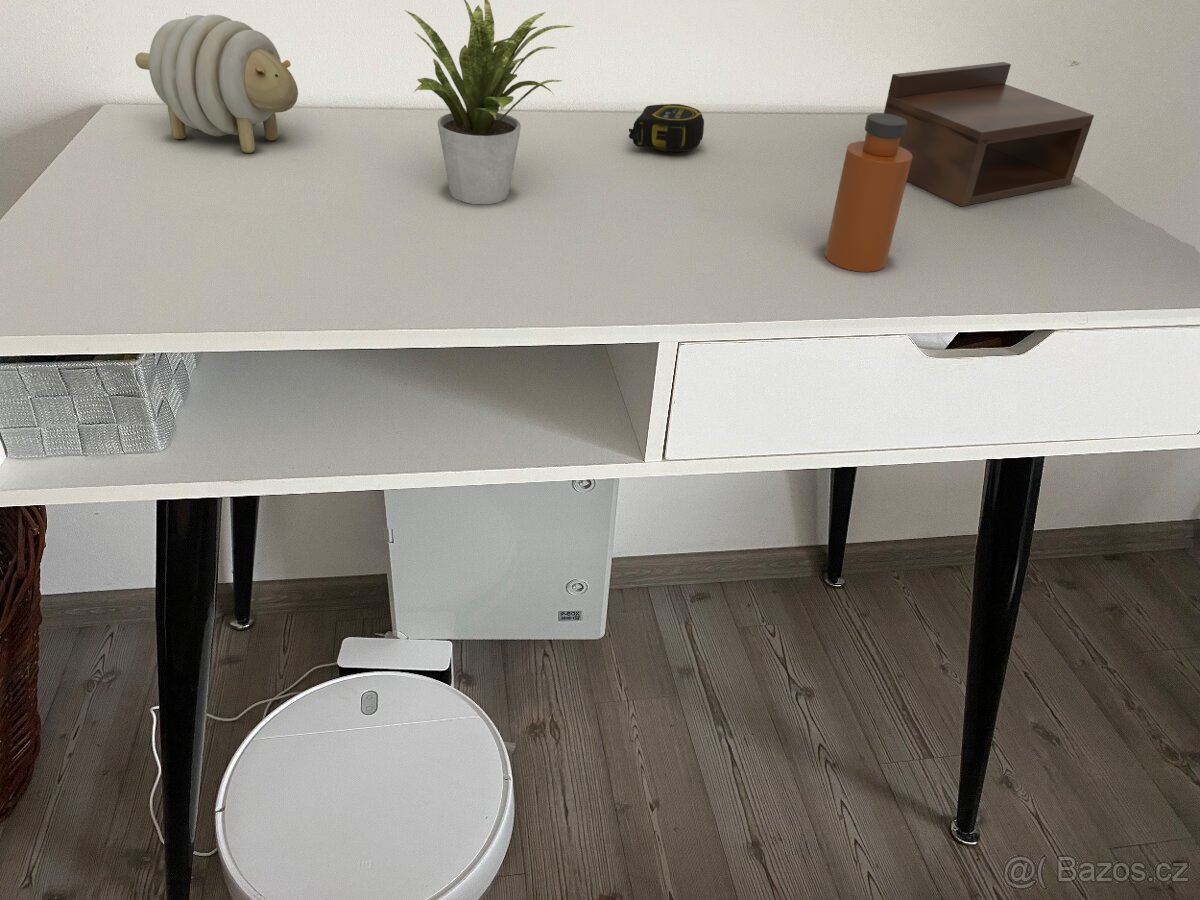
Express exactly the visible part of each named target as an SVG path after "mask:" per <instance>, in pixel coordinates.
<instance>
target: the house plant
mask: <svg viewBox="0 0 1200 900" xmlns="http://www.w3.org/2000/svg"><path fill="white" fill-rule="evenodd" d="M463 2H464V4H465V7H466V11H467V13H468V16H469V17H468V18H469V22H470V27H469V34H468V35H469V36H468V42H467V44H464V45H463V46H462V47H461V49H460V51H459V57H458V62H459V64H458V65H459V67H460V71H461V74H460V73H459V70H458V69H457V65H456V64H455V61H454V59H453V57H452V55H451V53H450V51H449V50H448V48H447V46H446V44H445V42H444V41H443V40H442V38H441V37H440V35H439V34H438V32H436V30H435V29H433V27H431V25H429V24H428V23H427V22H425V21H424V20H423V19H422V17H419V16H418V15H417V14H416V13H412V12H410V11H407V10H405V12H406V13H407V14H408V15H410V16H411V17H412V18H413V19H414V20H415V21H416V22H417V23H418V24H419V26H420V28H422V30H423V31H424V33H425V34H426V36H427V37H428V38H429V40H430V42H431V44H432V45H433V46H432V45H431V44H430V43H429V41H428V40H427V39H425V38H424V37H423V36H421V35H420V34H418V33H417V32H415V34H416V36H417V37H418V38H419V39H420V40H422V41H423V42H424V43H425V44H426V45H427V46H428V47H429V48H430V50H431V51H432V52H433V54H434V55H435V56H436V57H437V58H438V60H439V61H440V62H441V63H442V64H443V66H444V68H445V69H446V71H447V72H448V74H449V76H450V78H451V81H452V83H453V84H454V86H455V88H456V90H457V92H458V94H459V95H460V97H461V99H462V101H463V103H464V106H465V108H464V106H463V104H462V101H461V99H460V97H459V95H458V94H457V92H456V90H455V89H454V87H453V86H452V85H451V82H450V80H449V78H448V77H447V76H446V74H445V71H443V68H442V67H441V64H440V63H439V61H438V60H436V59H435V58H432V61H433V66H434V73H435V76H436V78H437V80H438V81H439V82H438V81H437V80H436V79H433V78H429V77H422V78H421V77H420V78H417V79H416V81H418V82H419V83H420V84H419V85H418V86H417V87H416V88H415V90H414V92H412V93H415V92H417V91H432V92H433V93H434V94H436V95H437V96H438V97H439V98H440V99H442V100H443V102H444V103H445V105H446V106H447V108H448V109H449V111H450V113H447V114H444V115H442V116H440V117H439V119H438V120H437V128H438V134H439V141H440V144H441V145H440V146H441V151H442V157H443V162H444V167H445V173H446V178H447V184H448V190H449V194H450V196H451V197H452V198H453V199H455V200H457V201H459V202H463V203H465V204H473V205H491V204H493V205H494V204H497V203H500V202H503V201H504V200H506V199H508V197H509V195H510V189H511V185H512V184H511V183H512V178H513V174H514V173H513V172H514V167H515V162H516V157H517V150H518V145H519V141H520V140H519V139H520V134H521V128H522V125H521V122H520V120H518V119H517V118H515V117H513V116H511V115H509V113H510V112H511V111H512V110H513V109H514V108H515V107H516V106H517V105H518V104H519V103H521V101H523V99H525V98H526V97H527V96H528V95H530V94H531V93H532V92H533V91H534V90H537V89H538V88H539V87H542V88H544V89H546V90H548V91H549V92H551V93H552V94H553V96H555V95H554V93H553V91H552V90H551V89H550V88H548V87H547V86H546V84H547V83H555V82H556V83H557V82H562V80H559V79H548V80H547V79H546V80H544V81H541V82H539V81H535V80H524V81H523V80H522V81H518V82H516V83H514V84H512V85H511V86H509V85H510V84H511V82H513V81H514V80H515V79H516V78H518V74H517V73H516V72H517V71H518V69H519V67H521V65H522V64H523V63H524V62H525V61H526V60H527V59H528V58H529V57H531V56H532V55H533V54H534V53H537V52H539V51H541V50H550V49H553V50H554V49H556V47H554V46H548V45H547V46H545V45H544V46H539V47H537V48H534V49H532V50H531V51H530V52H528V53H527V54H526V55H525V56H524V57H521V58H517V56H518V55H519V54H520V53H521V51H522V50H523V49H524V48H525V47H526V46H527V45H528V44H529V43H530V42H531V41H533V40H534V39H535V38H537V37H538V36H540V35H542V34H543V33H544V34H545V33H546V32H548V31H550V30H554V29H563V28H564V29H565V28H574V27H576V26H575V25H564V24H563V25H561V24H558V25H550V26H545V27H543V28H541V29H538V30H536V31H535V32H533V33H531V31H533V30H535V29H537V28H538V26H533V24H534V23H535V21H537V20H538V19H540V18H541V17H543V16H544V14H545V13H546V12H542V13H538V14H535V15H533V16H531V17H529V18H527V19H526V20H524V21H523V22H522V23H521V24H520V25H519V26H518V27H517V29H515V31H514V32H513V33H512V35H511V36H510V37H507V38H504V39H499V40H496V41H495V19H494V15H493V10H492V7H491V3H490V1H489V0H484V4H483V5H484V6H483V7H484V8H483V9H484V12H483V9H482V8H481V6H480V4H478V5H477V6H476V7H475V8H474V10H473V12H472V9H471V7H470V4H469V2H468V1H467V0H463ZM529 33H531V35H530V36H528V35H529ZM527 36H528V37H527ZM526 37H527V38H526ZM525 38H526V39H525ZM516 58H517V59H516ZM516 65H517V66H516ZM512 71H513V72H512ZM508 86H509V88H507V87H508ZM526 86H533V87H532V88H531V89H529V90H528V91H527V92H526V93H524V94H523V95H522V96H521V97H520V98H519V99H518V100H517V101H515V103H514V104H513V105H512V106H511V107H510V108H509V109H508V110H507V111H506V112H505V113H502V112H503V111H504V110H503V109H504V108H505V107H506V106H508V105H510V103H513V101H514V96H512V95H511V94H512V93H514V92H515V91H516V90H518V89H521V88H522V87H526ZM499 108H500V109H499ZM500 110H501V112H499V111H500Z"/></svg>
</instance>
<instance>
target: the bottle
mask: <svg viewBox="0 0 1200 900" xmlns="http://www.w3.org/2000/svg"><path fill="white" fill-rule="evenodd" d="M906 125H907V121H906V120H905V119H904V118H902V117H899V116H896V115H892V114H885V113H884V112H875V113H870V114H868V115H867V116H866V121H865V124H864V131H865V137H864V140H860V141H859V140H858V141H853V142H851V143H849V144H848V145H847V147H846V152H845V156H844V160H843V165H842V170H841V175H840V179H839V184H838V189H837V194H836V198H835V199H836V200H835V204H834V209H833V213H832V218H831V222H830V228H829V233H828V237H827V242H826V247H825V251H824V257H825V259H826V260H827V261H828V262H829V263H831V264H832V265H834V266H836V267H838V268H841V269H843V270H849V271H853V272H862V273H871V272H877V271H880V270H882V269H884V268H885V267H886V266H887V261H888V259H889V254H890V250H891V246H892V241H893V237H894V234H895V230H896V226H897V221H898V217H899V214H900V210H901V207H902V206H901V205H902V202H903V198H904V193H905V190H906V185H907V182H908V181H907V177H908V173H909V169H910V165H911V161H912V154H911V153H910V152H909V151H908V150H906V149H904V148H902V147H899V143H900V139H901V137H902V136H904V134H905V129H906Z"/></svg>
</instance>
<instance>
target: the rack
mask: <svg viewBox="0 0 1200 900" xmlns="http://www.w3.org/2000/svg"><path fill="white" fill-rule="evenodd" d="M1011 66H1012V63H1008V62H1006V61H999V62H991V63H982V64H980V63H979V64H971V65H965V66H962V65H961V66H953V67H946V68H937V69H929V70H928V69H927V70H926V69H925V70H918V71H909V72H908V71H907V72H900V73H892V75H891V79H890V83H889V88H888V93H887V97H886V98H887V99H886V102H885V106H884V110H883V113H885V114H892V115H896V116H899V117H902V118H904V119H905V120H906V121H907V125H906V129H905V134H904V136H902V137H901V139H900V143H899V147H902V148H904V149H906V150H908V151H909V152H910V153H911V154H912V161H911V165H910V169H909V173H908V177H907V181H906V182H908V183H910V184H912V185H915V186H917V187H918V188H920V189H923V190H925V191H927V192H929V193H931V194H933V195H935V196H938V197H939V198H941V199H944V200H946V201H948V202H950V203H953V204H955V205H957V206H959V207H965V206H969V205H974V204H975V205H976V204H981V203H984V202H985V203H986V202H989V201H995V200H999V199H1005V198H1009V197H1014V196H1015V197H1016V196H1021V195H1024V194H1025V195H1026V194H1030V193H1035V192H1040V191H1045V190H1050V189H1054V188H1060V187H1064V186H1069V185H1071V184H1072V181H1073V178H1074V175H1075V172H1076V170H1077V167H1078V164H1079V162H1080V158H1081V155H1082V152H1083V149H1084V146H1085V144H1086V141H1087V138H1088V135H1089V132H1090V129H1091V126H1092V123H1093V120H1094V116H1095V115H1094V114H1092V113H1089V112H1087V111H1083V110H1080V109H1077V108H1075V107H1072V106H1069V105H1066V104H1063V103H1061V102H1058V101H1055V100H1052V99H1049V98H1047V97H1043V96H1040V95H1037V94H1034V93H1032V92H1030V91H1026V90H1023V89H1021V88H1017V87H1014V86H1012V85H1009V84H1006V83H1007V80H1008V76H1009V73H1010V69H1011Z"/></svg>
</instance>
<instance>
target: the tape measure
mask: <svg viewBox="0 0 1200 900" xmlns="http://www.w3.org/2000/svg"><path fill="white" fill-rule="evenodd" d="M704 128H705V119H704V117H703V114H702V112H701V111H700V110H699V109H698V108H695V107H692V106H689V105H687V104H686V105H685V104H682V103H681V104H680V103H665V104H663V103H662V104H651V105H647V106H646V107H644V109H643V111H642V113H640V115H639V116H637V118H636V119H635V121H634V122H633V126H632V128H628V132H630V133H629V134H628V138H629V139H630V140H632V142H633V144H634V146H636V147H637V148H652V149H655V150H658V151H659V150H660V151H663V152H687V151H690V150H692V149H696V148H697V147H698V146H699V145H700V144H701V141H702V140H703V137H704V131H705V129H704Z"/></svg>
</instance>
